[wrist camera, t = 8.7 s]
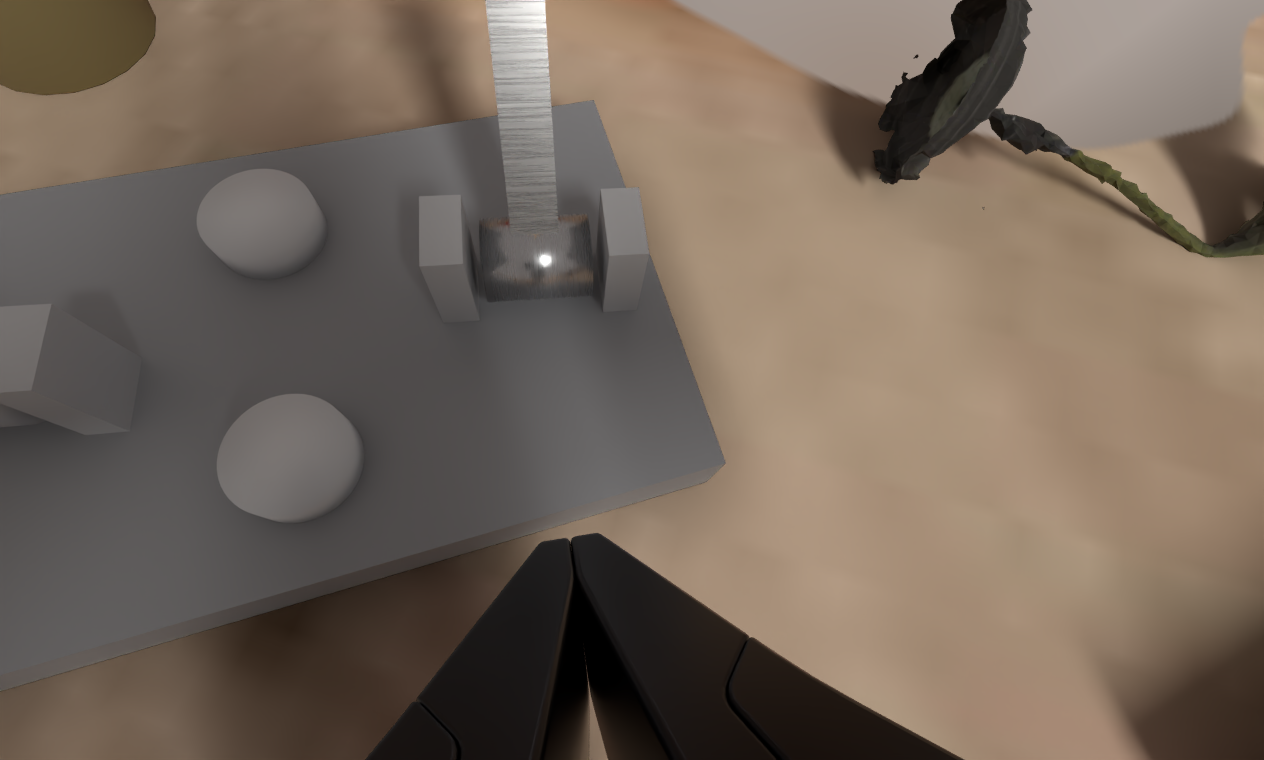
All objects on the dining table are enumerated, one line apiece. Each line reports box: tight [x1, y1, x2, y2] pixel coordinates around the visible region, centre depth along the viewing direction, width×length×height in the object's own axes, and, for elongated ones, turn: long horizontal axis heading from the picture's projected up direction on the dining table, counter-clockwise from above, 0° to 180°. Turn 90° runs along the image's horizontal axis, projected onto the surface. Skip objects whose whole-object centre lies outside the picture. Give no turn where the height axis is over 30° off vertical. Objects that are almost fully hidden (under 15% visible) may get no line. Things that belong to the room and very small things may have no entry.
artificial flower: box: [873, 0, 1264, 258], centre depth 22 cm, size 9×22×10 cm, turn 74°
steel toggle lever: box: [479, 0, 593, 302], centre depth 14 cm, size 3×3×11 cm
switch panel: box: [0, 100, 725, 691], centre depth 16 cm, size 13×21×6 cm, turn 107°
